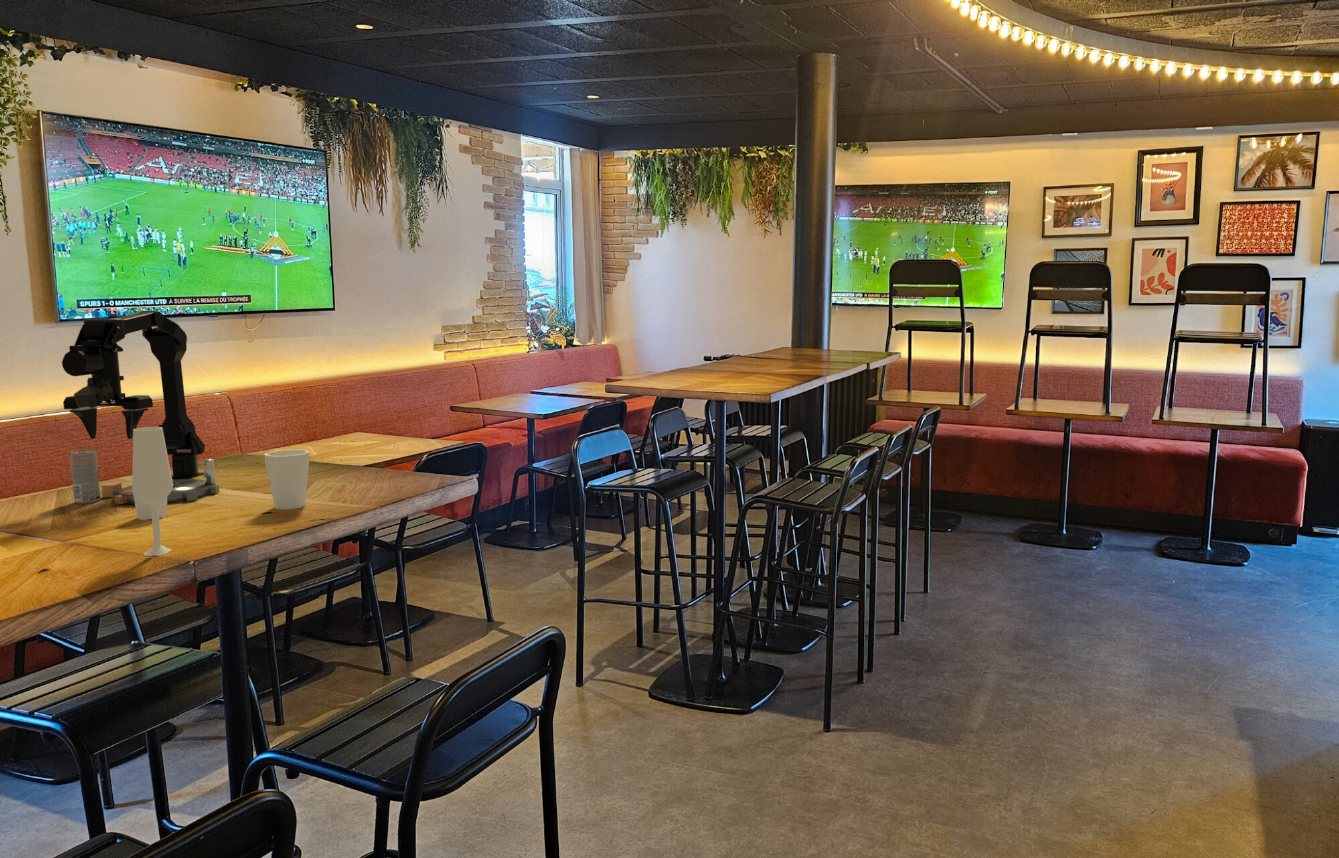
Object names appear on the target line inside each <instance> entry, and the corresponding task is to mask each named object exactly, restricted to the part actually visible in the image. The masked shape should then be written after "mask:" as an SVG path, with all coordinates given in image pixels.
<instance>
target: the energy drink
mask: <svg viewBox="0 0 1339 858" xmlns="http://www.w3.org/2000/svg"><path fill="white" fill-rule="evenodd" d="M69 459H70V471H71V480H72V481H71V482H72V490H73V491H72V492H73V493H72V494H73V502H74V503H75V504H79V505H86V504H94V503H98V502H100V500H101V499H102V497H101V490H100V489H101V487H100V479H99V478H100V477H99V467H98V454H97V452H96V450H95V449H82V450H81V449H80V450H74V451H73V450H72V451H70V455H69Z"/></svg>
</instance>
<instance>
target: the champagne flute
mask: <svg viewBox="0 0 1339 858" xmlns="http://www.w3.org/2000/svg"><path fill="white" fill-rule="evenodd" d="M169 461H170V460H169V457H168V455H167V450H166V444H165V439H164V434H163V428H162V427H158V426H147V427H146V426H145V427H138V428H137V427H136V429H134V430H133V437H132V474H131V475H132V477H131V478H132V479H131V480H132V481H131V482H132V483H131V486H132V490H133V492H134V494H135V495H136V496H137V497H138V498H139V499H141V500H142V501H144V502H145V503H146V504H149V505H151V514H152V520H151V521H152V523H151V524H152V534H153V535H152V536H153V546H152V547H151V548H150V549H149V550H146V551H145V552H144V553H143V554H144V555H145V556H146V555H147V556H152V555H161V554H166V553H168V552H169V551H171V550H172V549H170V548H168V547H167V546H164V545H162V540H161V538H162V537H161V527H160V524H161V523H160V518H159V512H158V504H160V503H161V502H162V501H163V500H164V499H165V498H166V497H167V496H168V495H169V494H170V492H171V491H172V488H173V482H172V480H173V478H172V477H171V475H172V472H171V466H170V462H169Z"/></svg>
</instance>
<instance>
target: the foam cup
mask: <svg viewBox="0 0 1339 858" xmlns="http://www.w3.org/2000/svg"><path fill="white" fill-rule="evenodd" d="M309 464H310V451H309V450H306V449H297V448H296V449H280V450H279V449H278V450H273V451H268V452H265V453H264V466H266V471H267V472H266V473H267V476H268V480H269V486H270V490H271V497H272V500H273V505H274V509H277V510H284V509H285V510H295V509H300V508H304V507H305V506H306V502H307V501H306V500H307V490H308V479H309V478H308V475H309Z"/></svg>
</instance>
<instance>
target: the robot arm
mask: <svg viewBox="0 0 1339 858" xmlns="http://www.w3.org/2000/svg"><path fill="white" fill-rule="evenodd" d="M139 331H141V332H142V337H143V338H144V339H145V340H146V341H147V342H148V343H149V346H150V352H151V354H152V355H153V356H154V357H155V358H156V360H157V361H158V362H159V370H160V379H161V386H162V397H163V406H164V407H163V408H164V415H165V417H164V419H163V422H162V423H161V424H159V425H158V426H157V427H162V428H163V434H164V439H165V444H166V450H167V455H169V456H171V467H172V468H171V470H172V474H171V477H172V479H176V478H180V479H181V478H184V479H194V478H196V477H200V476H204V472H199V466H198V465H199V463H198V455H202V454H204V453H205V447H206V445H205V443H204V442H203V441H202V439H201V438H200V437H199V435H197V431H196V428H195V427H196V426H195V424H194V422H193V421H192V420H191V418H189V416H188V414H187V406H186V397H185V388H184V387H185V386H184V377H183V369H182V360H183V357H184V355H185V354H186V352H187V344H188V343H187V342H188V341H187V340H188V336H187V334H186V332H185V331H184V330H183V329H182V327H181V326H180V325H179V324H178V323H177V322H175V321H173V320H171V319H169V318H168V317H166V316H165V315H164V314H163V313H162V312H161V311H159V310H141V311H138V312H135V313H131V314H128V315H127V314H126V315H122V316H119V317H114V318H107V317H106V318H86V319H85V320H84V321H83V324H82V326H81V327H80V330H79V332H78V334H77V337H76V340H75V343H74V345H69V347H68V348H69V351H67V352H66V353H65V354H64V356H63V358H62V361H61V367H62V368H63V370H64V372H65V373H66V374H68V375H69V376H72V377H80V376H89V375H91V377H87V380H86V382H87V383H86V384H87V385H86V386H84V387H81V389H79V390H77V391H76V392H74V393H73V395H70V396H65V398H64V400H63V409H64V410H68V412H69V413H70V414H74V415H76V416H77V418H79V420H80V422H82V425H83V426H84V428H85V430H86V431H87V434H88V436H89V438H90V439H91V440H95V439H96V436H97V423H98V421H97V419H98V407H121V408H123V410H121V413H122V415H123V417H124V420H125V430H126V431H125V433H126V436H127V440H133V430H134V429H137V427H138V424H139V423H140V420H141V418H142V416H144V413H145V412H147V411H149V408H153V407H154V403H153V399H152V398H151V396H150V394H149V395H148V394H145V395H143V394H141V395H140V394H135V395H129V396H126V392H122V387H121V386H122V385H121V384H122V383H121V381H125V377H124V375H121V374H120V372H121V371H120V362H119V353H122V352H124V349H123V347H122V346H120V345H119V344H118V342H120V341H122V340H124V339H125V337H126V335H128V334H132V333H135V332H139ZM199 475H200V476H199ZM193 477H194V478H193Z"/></svg>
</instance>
